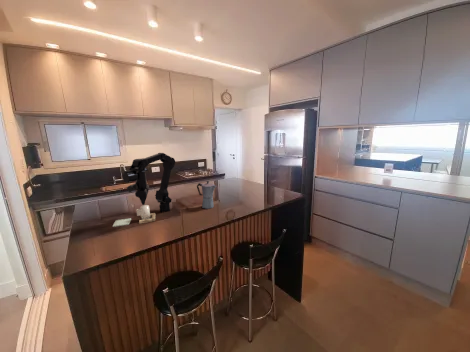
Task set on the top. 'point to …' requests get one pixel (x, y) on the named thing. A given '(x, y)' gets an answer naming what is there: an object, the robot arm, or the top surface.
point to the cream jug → (144, 212)
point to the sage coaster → (122, 222)
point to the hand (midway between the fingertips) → (144, 202)
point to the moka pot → (207, 194)
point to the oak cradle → (148, 219)
